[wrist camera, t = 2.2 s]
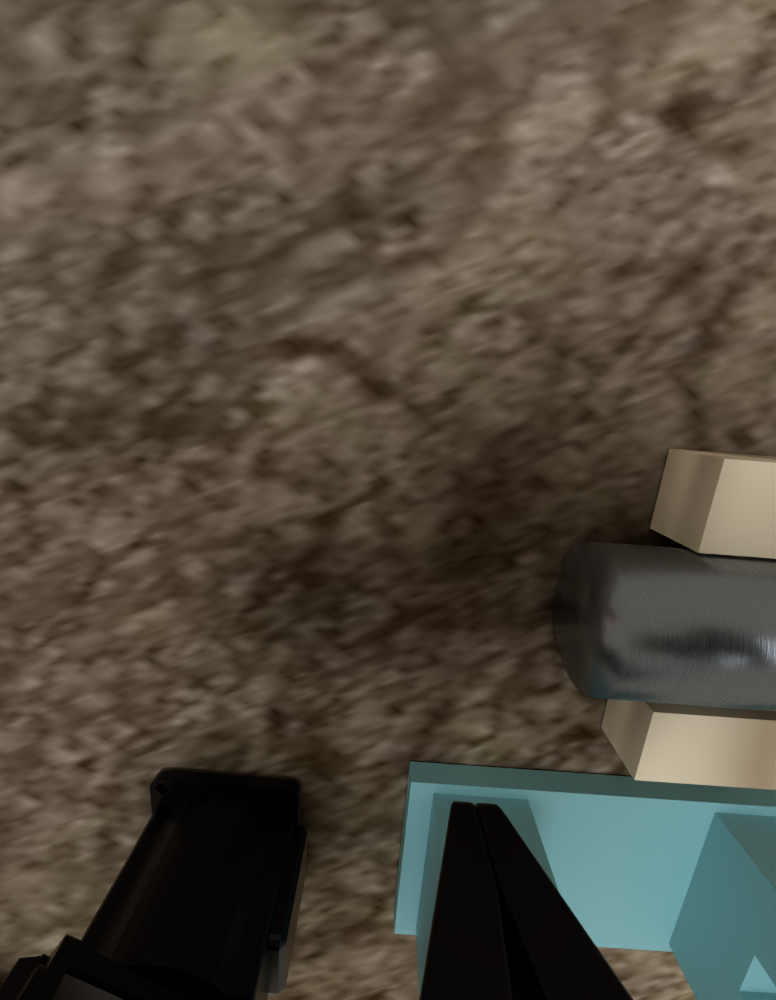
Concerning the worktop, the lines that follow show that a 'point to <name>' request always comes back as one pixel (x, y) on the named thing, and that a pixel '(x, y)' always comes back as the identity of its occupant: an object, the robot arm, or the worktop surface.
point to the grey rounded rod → (668, 625)
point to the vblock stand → (620, 864)
